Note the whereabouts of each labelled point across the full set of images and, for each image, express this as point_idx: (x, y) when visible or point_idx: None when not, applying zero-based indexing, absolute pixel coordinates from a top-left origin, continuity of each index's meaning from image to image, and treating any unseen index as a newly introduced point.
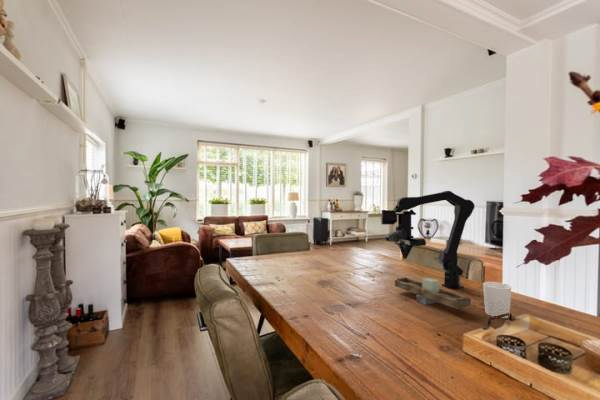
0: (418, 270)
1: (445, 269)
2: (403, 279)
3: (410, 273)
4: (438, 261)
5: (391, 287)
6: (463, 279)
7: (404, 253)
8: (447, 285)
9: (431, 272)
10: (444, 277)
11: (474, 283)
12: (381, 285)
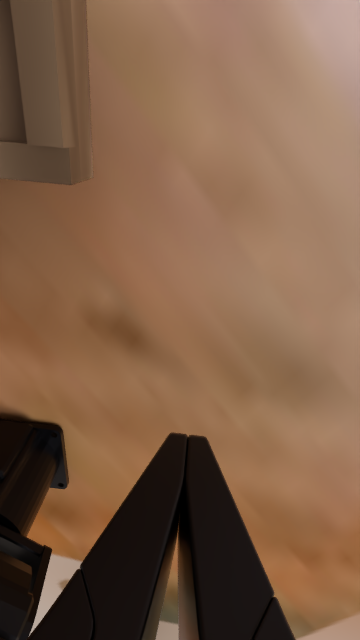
0: (335, 561)
1: (20, 547)
2: (24, 70)
3: (339, 497)
4: (26, 609)
5: (228, 85)
6: None
7: (140, 527)
8: (7, 425)
9: None
10: (2, 465)
11: None
12: (344, 36)
